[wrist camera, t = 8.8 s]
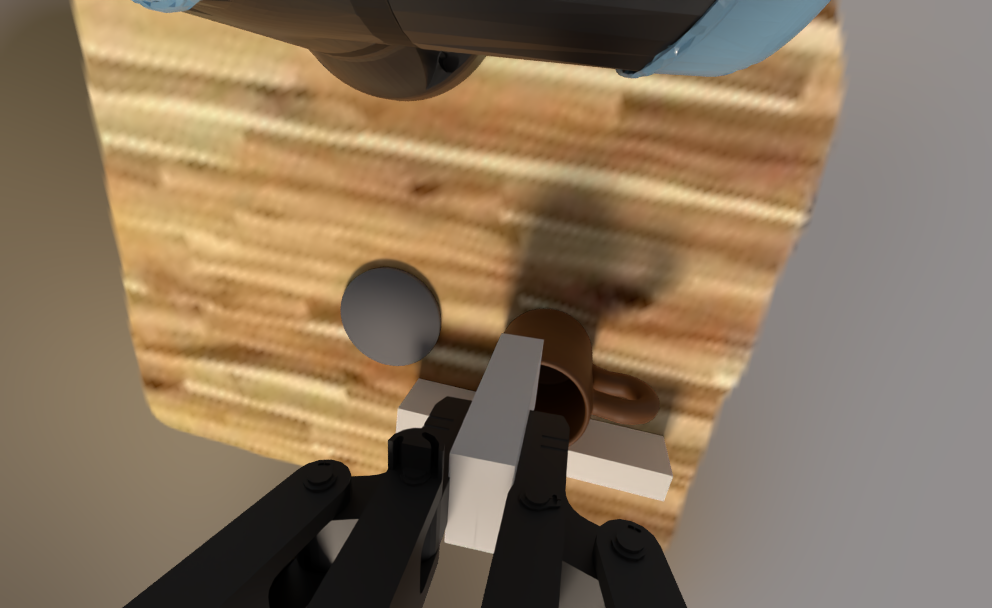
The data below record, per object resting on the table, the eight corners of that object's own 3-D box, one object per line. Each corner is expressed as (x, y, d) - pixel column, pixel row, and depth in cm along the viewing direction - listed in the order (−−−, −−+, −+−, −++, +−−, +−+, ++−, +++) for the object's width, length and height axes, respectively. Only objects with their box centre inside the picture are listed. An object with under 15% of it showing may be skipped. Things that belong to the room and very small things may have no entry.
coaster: (345, 257, 40) (341, 259, 39) (446, 278, 39) (444, 281, 38) (342, 350, 43) (339, 353, 42) (435, 372, 42) (433, 375, 41)
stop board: (418, 378, 42) (398, 408, 38) (663, 436, 40) (673, 476, 35) (416, 401, 43) (395, 433, 39) (655, 459, 41) (663, 501, 36)
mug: (654, 314, 36) (674, 371, 28) (641, 398, 39) (656, 474, 30) (503, 301, 38) (477, 350, 30) (500, 382, 41) (476, 449, 32)
